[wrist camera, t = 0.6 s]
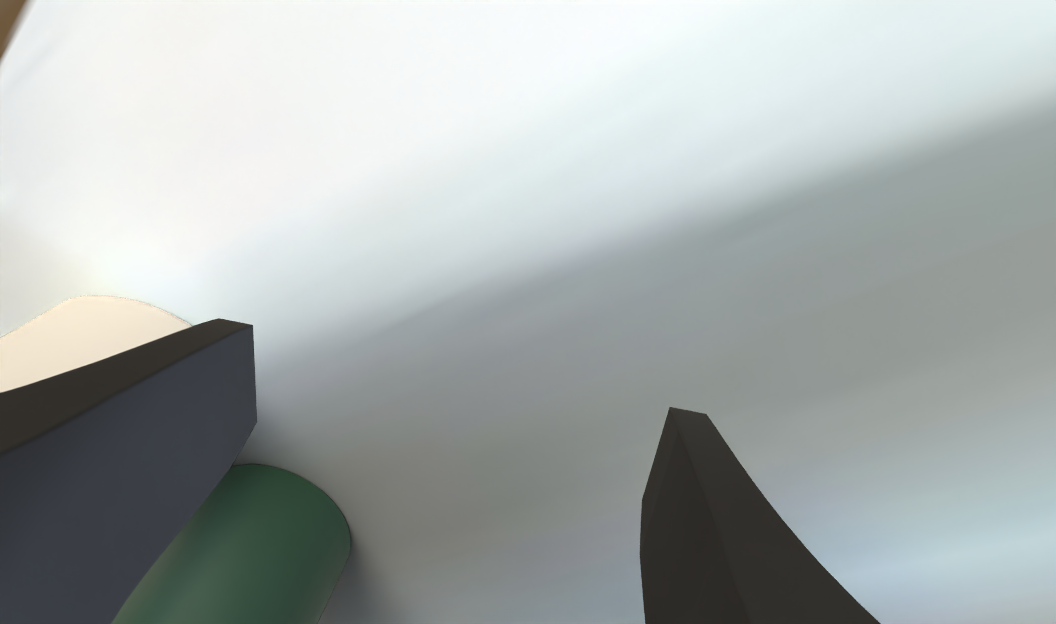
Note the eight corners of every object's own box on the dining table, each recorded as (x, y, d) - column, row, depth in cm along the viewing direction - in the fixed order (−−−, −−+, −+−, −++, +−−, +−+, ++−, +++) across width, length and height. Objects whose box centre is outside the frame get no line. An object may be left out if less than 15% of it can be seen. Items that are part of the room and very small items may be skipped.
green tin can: (349, 598, 29) (257, 809, 22) (203, 568, 30) (63, 765, 22) (352, 481, 26) (246, 679, 19) (189, 449, 27) (21, 632, 19)
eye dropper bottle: (178, 422, 26) (-132, 733, 15) (52, 323, 25) (-384, 588, 14) (240, 358, 24) (-60, 658, 14) (108, 248, 23) (-340, 484, 12)
